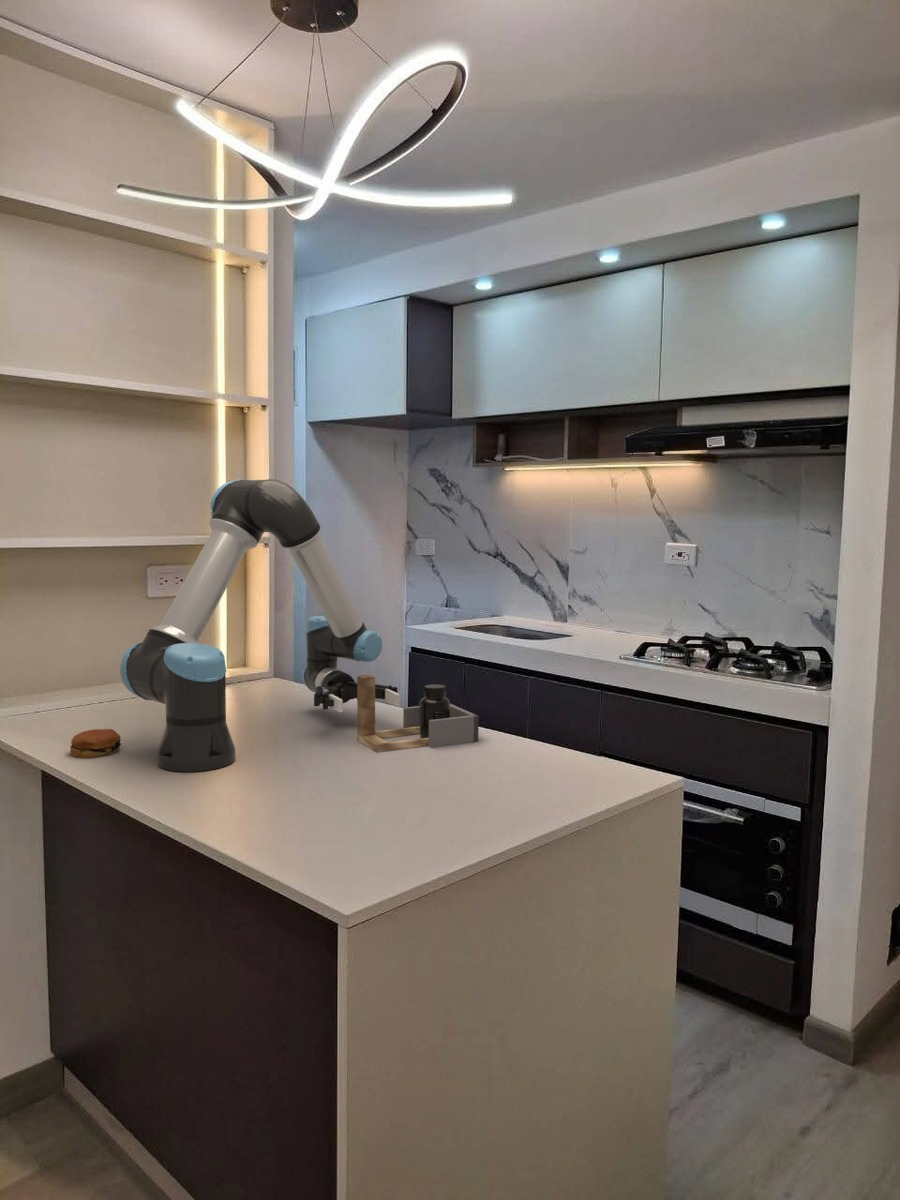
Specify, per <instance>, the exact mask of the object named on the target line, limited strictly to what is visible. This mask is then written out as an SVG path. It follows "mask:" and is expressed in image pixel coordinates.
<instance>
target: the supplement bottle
mask: <svg viewBox="0 0 900 1200" xmlns="http://www.w3.org/2000/svg"><path fill="white" fill-rule="evenodd" d="M423 688H424V689H423V695H424V697H422V698H421V699H420V701H419V706H420V734H419V737H420V738H419V739H421V738H429V720H434V719H443V718H450V704H451V701H450V700H449V698H448V697H446V695H447V691H446V685H444V684H427V685H424V687H423Z"/></svg>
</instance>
